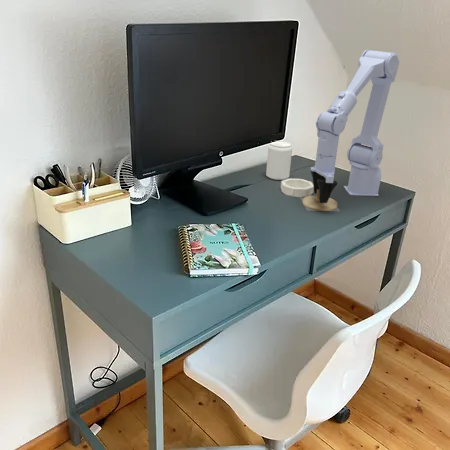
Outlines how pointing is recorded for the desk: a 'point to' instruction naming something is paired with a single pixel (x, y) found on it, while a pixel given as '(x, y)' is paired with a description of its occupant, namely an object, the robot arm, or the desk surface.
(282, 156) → the beverage can
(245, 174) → the desk surface
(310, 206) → the lid
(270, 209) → the desk surface
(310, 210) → the mat
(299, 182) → the bowl
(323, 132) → the robot arm
